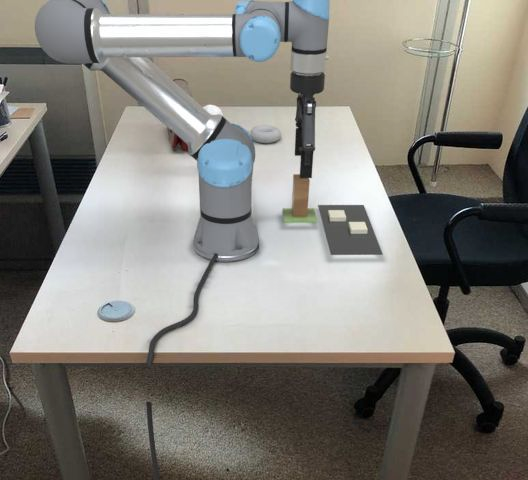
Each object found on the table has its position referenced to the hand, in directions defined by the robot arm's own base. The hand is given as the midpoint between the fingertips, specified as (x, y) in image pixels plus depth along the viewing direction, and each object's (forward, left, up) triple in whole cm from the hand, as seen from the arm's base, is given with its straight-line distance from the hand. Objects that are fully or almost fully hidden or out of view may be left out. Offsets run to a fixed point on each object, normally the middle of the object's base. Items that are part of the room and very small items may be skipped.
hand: (302, 166), depth 154 cm
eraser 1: (+2, -9, -13) cm, 16 cm away
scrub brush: (0, 0, -15) cm, 15 cm away
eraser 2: (-2, -15, -13) cm, 20 cm away
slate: (-2, -13, -15) cm, 20 cm away
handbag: (+45, +49, -15) cm, 68 cm away
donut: (+54, +24, -15) cm, 61 cm away
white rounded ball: (+57, +44, -11) cm, 73 cm away
